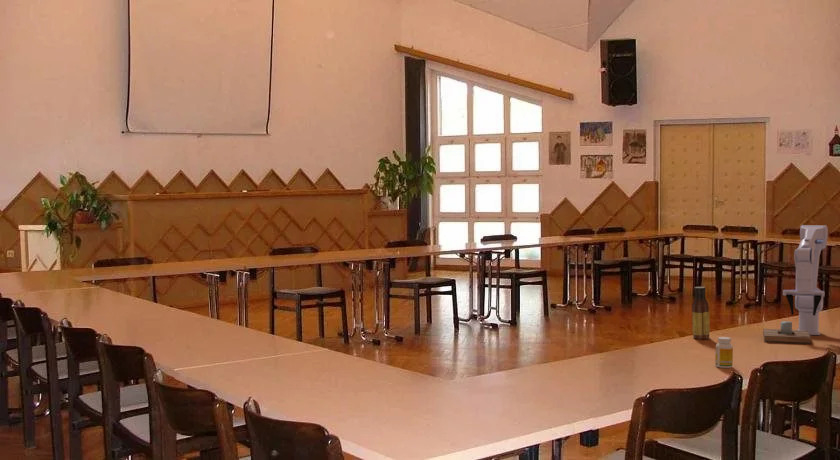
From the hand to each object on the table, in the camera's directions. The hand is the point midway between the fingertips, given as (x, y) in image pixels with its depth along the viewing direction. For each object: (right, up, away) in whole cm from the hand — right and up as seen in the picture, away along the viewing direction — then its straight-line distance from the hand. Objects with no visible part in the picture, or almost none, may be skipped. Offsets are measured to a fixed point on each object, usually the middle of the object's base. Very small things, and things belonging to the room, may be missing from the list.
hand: (803, 314), depth 351 cm
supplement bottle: (-46, -13, -47) cm, 67 cm away
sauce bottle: (-38, -10, +5) cm, 39 cm away
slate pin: (-6, -9, +1) cm, 11 cm away
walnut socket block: (-6, -9, +1) cm, 11 cm away
